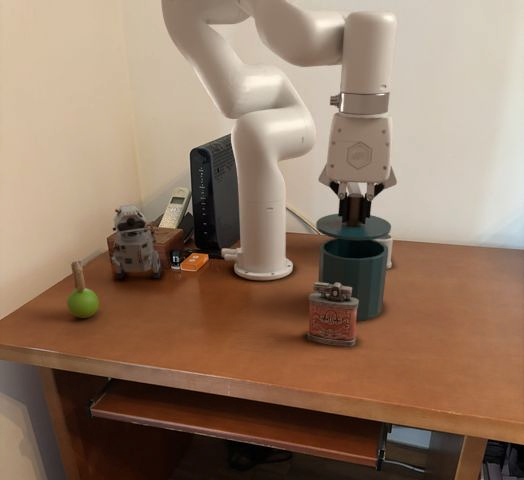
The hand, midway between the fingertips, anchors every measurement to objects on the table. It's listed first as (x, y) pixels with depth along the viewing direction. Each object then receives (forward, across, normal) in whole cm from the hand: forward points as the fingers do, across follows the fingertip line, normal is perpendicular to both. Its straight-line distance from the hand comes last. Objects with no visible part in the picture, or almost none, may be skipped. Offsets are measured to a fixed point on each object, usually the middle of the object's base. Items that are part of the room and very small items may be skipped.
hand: (353, 220), depth 94 cm
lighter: (+16, -2, -14) cm, 21 cm away
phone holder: (+17, +3, +27) cm, 32 cm away
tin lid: (+1, 0, 0) cm, 1 cm away
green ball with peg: (+17, -46, -12) cm, 51 cm away
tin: (+16, +1, 0) cm, 16 cm away
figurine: (+17, -43, +6) cm, 47 cm away
